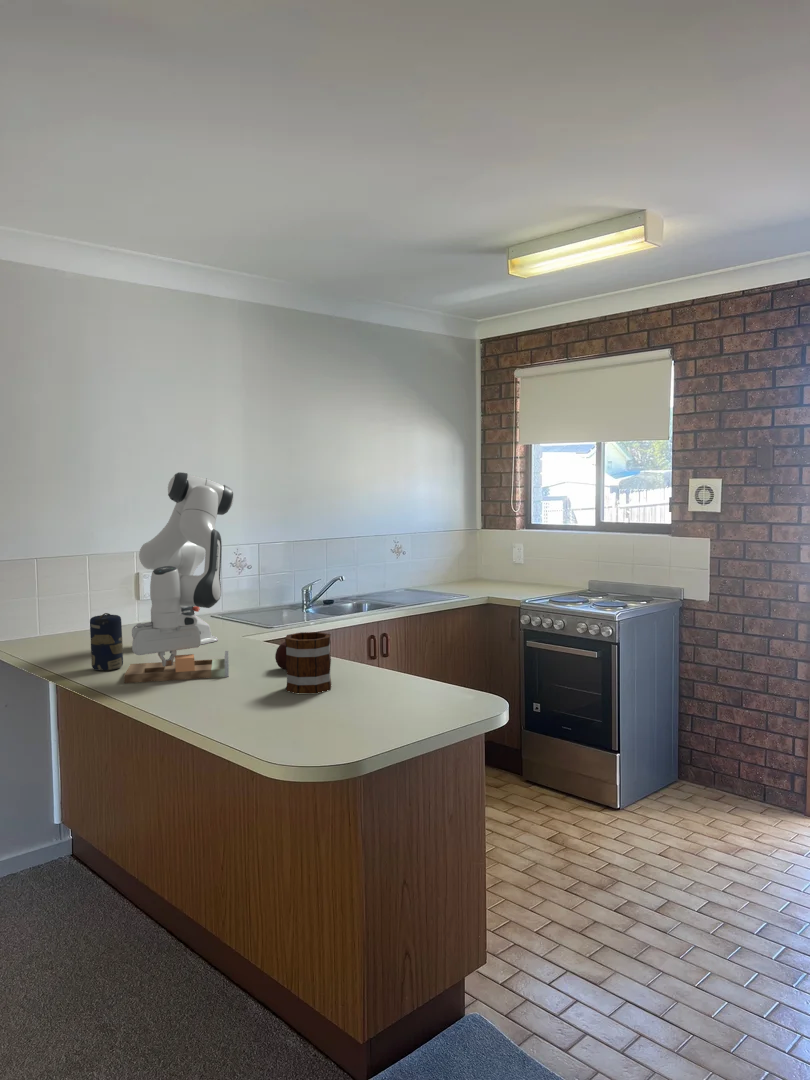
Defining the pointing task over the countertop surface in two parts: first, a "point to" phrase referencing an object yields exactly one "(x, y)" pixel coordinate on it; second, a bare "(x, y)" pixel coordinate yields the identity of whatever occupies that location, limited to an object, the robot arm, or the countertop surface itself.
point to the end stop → (226, 664)
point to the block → (184, 663)
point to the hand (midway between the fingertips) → (167, 665)
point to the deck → (174, 671)
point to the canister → (106, 642)
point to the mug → (308, 662)
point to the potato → (281, 656)
